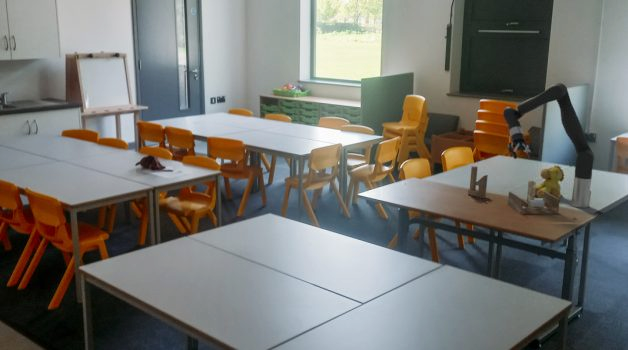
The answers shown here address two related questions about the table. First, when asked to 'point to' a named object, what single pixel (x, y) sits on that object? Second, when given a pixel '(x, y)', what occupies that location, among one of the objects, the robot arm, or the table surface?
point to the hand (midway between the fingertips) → (522, 158)
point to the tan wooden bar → (531, 190)
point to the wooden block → (481, 183)
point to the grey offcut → (536, 203)
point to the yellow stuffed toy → (550, 182)
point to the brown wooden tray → (522, 207)
